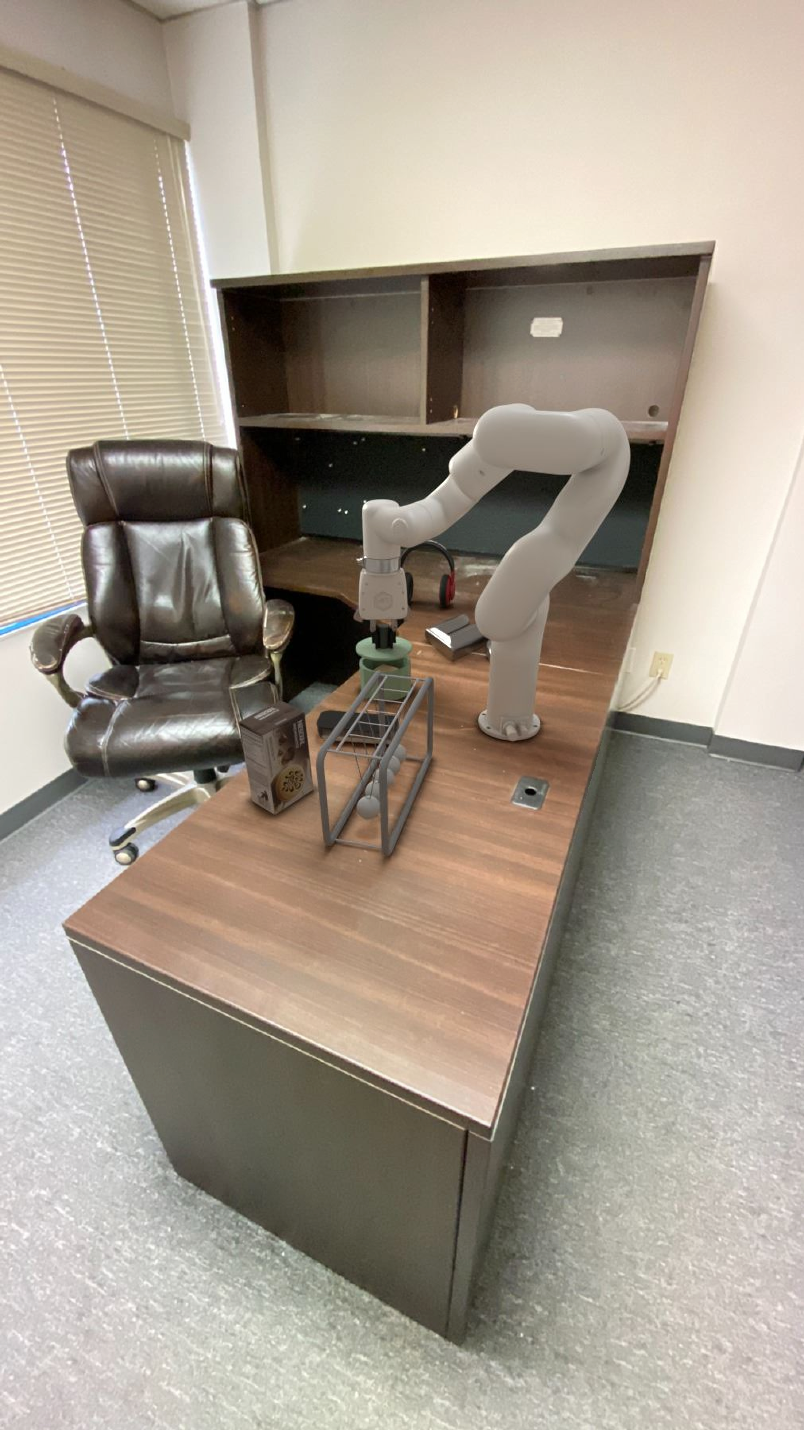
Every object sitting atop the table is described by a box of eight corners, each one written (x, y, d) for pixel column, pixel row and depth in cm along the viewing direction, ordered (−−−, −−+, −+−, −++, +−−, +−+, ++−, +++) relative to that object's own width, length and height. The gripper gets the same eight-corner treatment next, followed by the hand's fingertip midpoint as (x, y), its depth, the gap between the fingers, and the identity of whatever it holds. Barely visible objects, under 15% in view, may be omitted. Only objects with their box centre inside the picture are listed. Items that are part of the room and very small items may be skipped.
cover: (413, 662, 130) (413, 635, 127) (355, 664, 129) (354, 637, 126) (410, 639, 140) (410, 614, 137) (356, 641, 140) (355, 615, 137)
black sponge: (314, 743, 120) (312, 727, 119) (325, 721, 128) (324, 706, 126) (395, 750, 118) (395, 734, 116) (402, 727, 125) (402, 712, 123)
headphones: (455, 601, 192) (458, 537, 182) (451, 612, 184) (453, 545, 174) (401, 598, 195) (400, 535, 185) (395, 608, 187) (393, 543, 177)
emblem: (433, 603, 175) (532, 609, 170) (433, 621, 177) (530, 627, 172) (415, 641, 151) (529, 649, 146) (415, 660, 154) (527, 669, 149)
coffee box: (290, 776, 111) (280, 699, 103) (314, 790, 107) (306, 710, 99) (250, 801, 105) (236, 720, 97) (274, 816, 101) (262, 733, 93)
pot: (412, 702, 135) (412, 671, 131) (360, 703, 134) (359, 673, 131) (409, 679, 145) (409, 650, 141) (361, 680, 144) (359, 651, 140)
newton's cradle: (388, 863, 91) (385, 765, 82) (323, 851, 94) (313, 755, 85) (433, 755, 116) (434, 672, 107) (381, 748, 119) (378, 665, 110)
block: (399, 687, 140) (398, 668, 137) (388, 695, 137) (387, 675, 134) (383, 683, 142) (383, 663, 139) (372, 690, 139) (371, 670, 136)
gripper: (342, 569, 121) (346, 654, 130) (423, 568, 122) (421, 652, 131) (343, 559, 128) (347, 640, 137) (420, 558, 128) (419, 638, 138)
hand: (384, 645), depth 134 cm, fingers closed on cover, 2 cm apart
